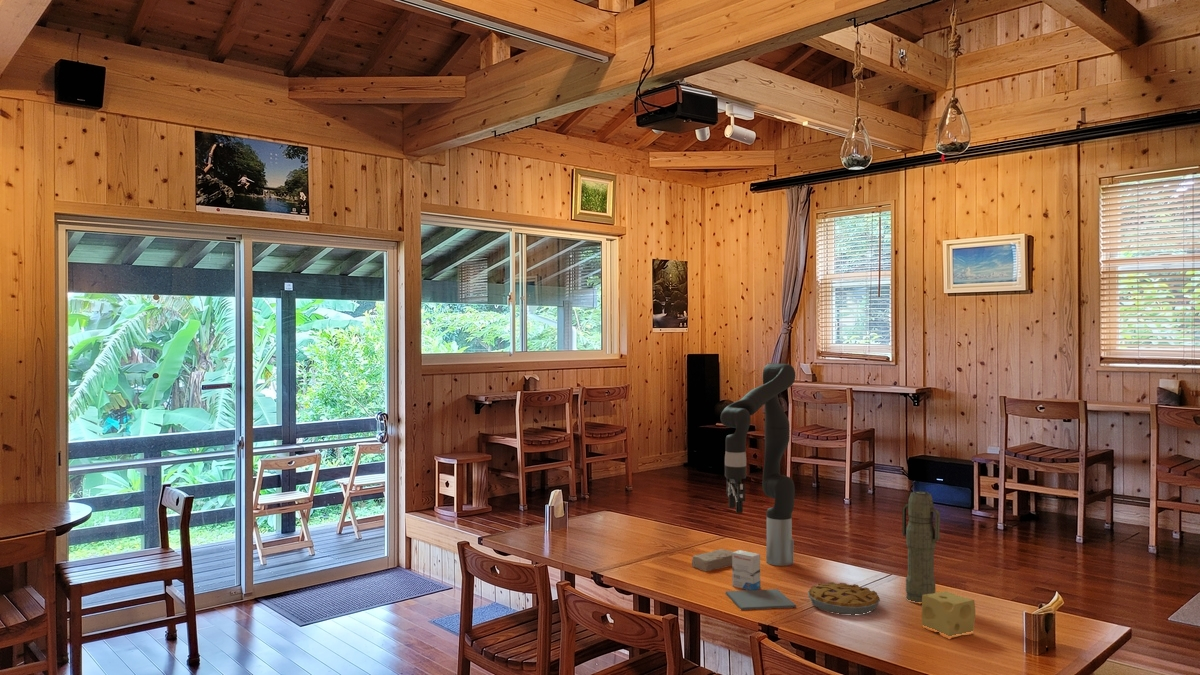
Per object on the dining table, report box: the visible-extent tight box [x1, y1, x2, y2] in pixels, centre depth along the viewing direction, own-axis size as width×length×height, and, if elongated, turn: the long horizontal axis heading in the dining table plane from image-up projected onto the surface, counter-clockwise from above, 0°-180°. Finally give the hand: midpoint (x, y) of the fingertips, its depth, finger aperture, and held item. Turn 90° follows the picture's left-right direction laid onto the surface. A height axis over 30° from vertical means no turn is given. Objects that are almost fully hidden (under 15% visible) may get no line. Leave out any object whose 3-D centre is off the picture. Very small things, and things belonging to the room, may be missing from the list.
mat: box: [725, 588, 797, 611], centre depth 254 cm, size 18×16×1 cm
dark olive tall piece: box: [901, 490, 941, 602], centre depth 255 cm, size 9×12×35 cm
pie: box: [807, 582, 881, 616], centre depth 250 cm, size 22×22×5 cm
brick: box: [691, 548, 734, 572], centre depth 293 cm, size 16×8×5 cm, turn 125°
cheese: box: [921, 590, 976, 636], centre depth 228 cm, size 10×11×10 cm
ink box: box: [731, 549, 762, 590], centre depth 267 cm, size 9×5×12 cm, turn 47°
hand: (735, 510), depth 277 cm, fingers open, 8 cm apart
